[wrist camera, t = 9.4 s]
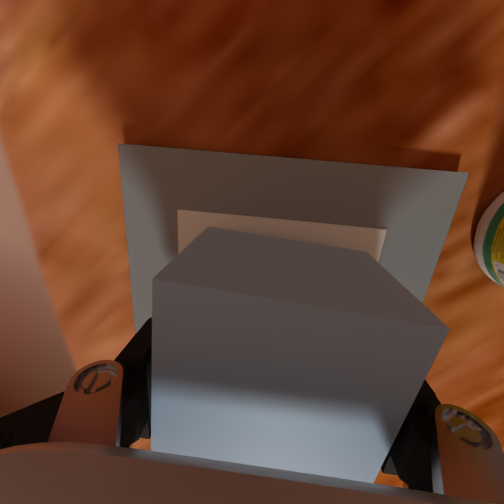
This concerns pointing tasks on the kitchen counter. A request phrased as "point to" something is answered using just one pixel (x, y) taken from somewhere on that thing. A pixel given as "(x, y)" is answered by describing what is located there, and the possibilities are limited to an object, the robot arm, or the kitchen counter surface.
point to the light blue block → (285, 355)
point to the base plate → (282, 209)
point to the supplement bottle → (491, 241)
